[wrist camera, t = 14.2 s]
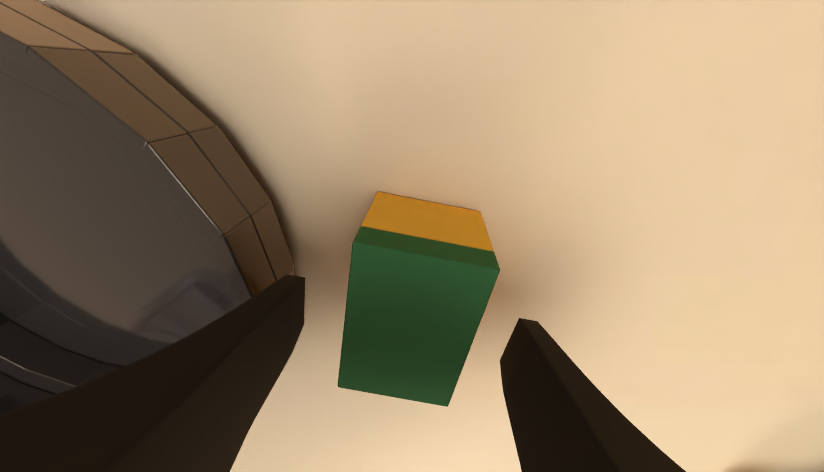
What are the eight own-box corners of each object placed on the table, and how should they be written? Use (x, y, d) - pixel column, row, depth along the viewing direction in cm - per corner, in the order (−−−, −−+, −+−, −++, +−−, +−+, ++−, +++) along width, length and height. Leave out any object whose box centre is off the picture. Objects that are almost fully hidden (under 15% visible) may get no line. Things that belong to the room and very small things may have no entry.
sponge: (444, 326, 15) (448, 407, 11) (361, 311, 14) (337, 387, 11) (481, 211, 12) (501, 269, 8) (377, 190, 12) (352, 241, 8)
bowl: (297, 407, 18) (269, 475, 15) (-18, 351, 18) (-114, 409, 15) (303, 54, 10) (242, 45, 7) (-298, -71, 9) (-666, -144, 6)
